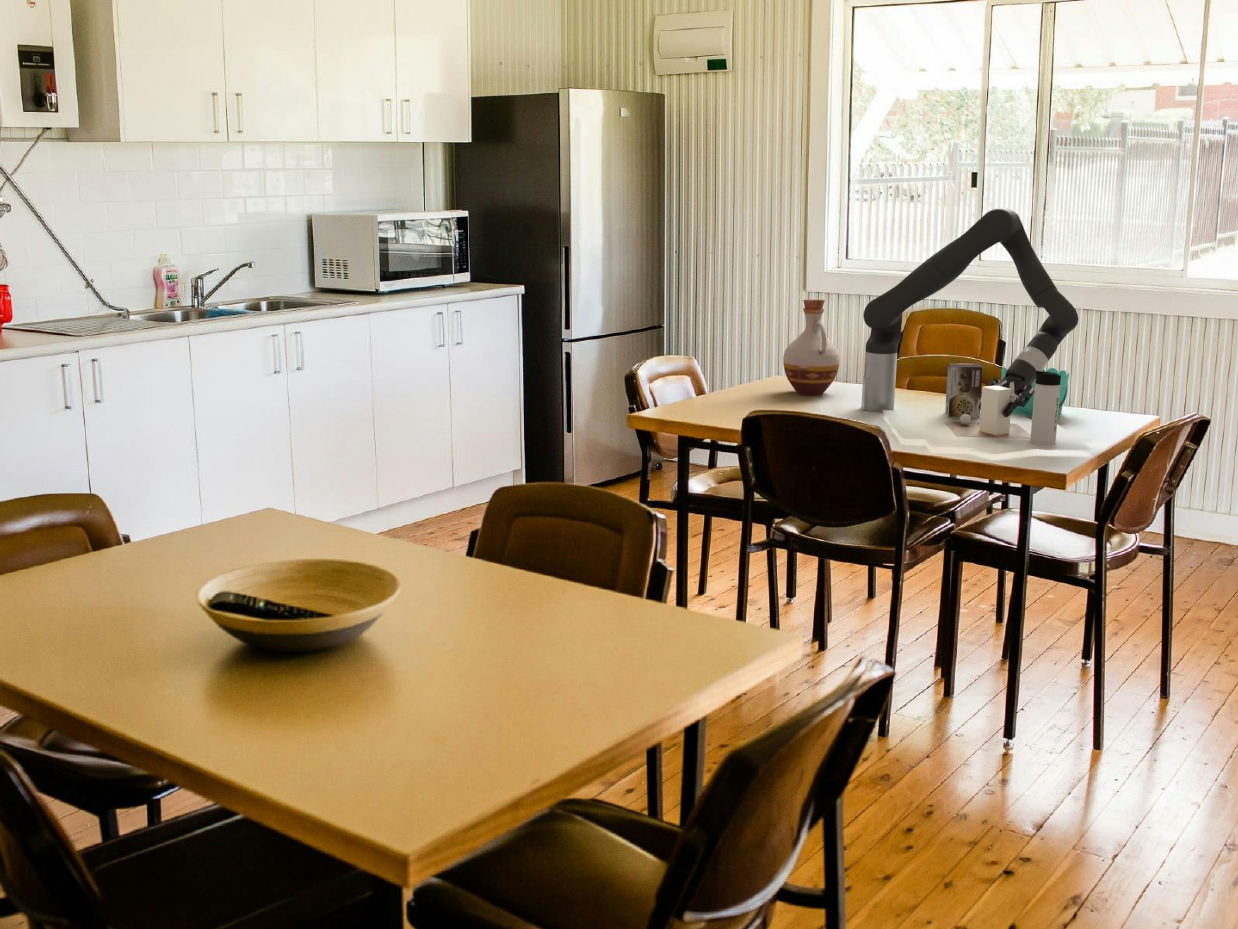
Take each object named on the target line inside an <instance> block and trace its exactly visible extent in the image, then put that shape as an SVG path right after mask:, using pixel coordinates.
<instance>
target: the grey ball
mask: <svg viewBox="0 0 1238 929" xmlns="http://www.w3.org/2000/svg"><path fill="white" fill-rule="evenodd" d="M959 422H960V423H961V424H963V425H968V424H969V423H970V422H972V418H971V417H970V416H969V415H967V414H964V415H962V416H961V417H959Z"/></svg>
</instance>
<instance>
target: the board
mask: <svg viewBox="0 0 1238 929" xmlns="http://www.w3.org/2000/svg"><path fill="white" fill-rule="evenodd" d="M943 422H944V424H945V425H946V426H947V427H948V428H949V429H950V430H951V431H952V432H953V434H954V435H955V436H956V437H958V438H959V437H961V438H962V437H964V438H967V437H968V438H997V439H998V438H999V439H1001V438H1003V439H1030V438H1031V433H1029V432H1028V431H1027V430H1025V428H1023V427H1022V426H1021V425H1020V424H1019V423H1011V422H1010V429H1009V433H1008V434H999V435H993V434H989V433H985V432H981V431H979V425H980V422H972V421H971V422H970V423H969V424H968V425H963V424H961V423H960V421H958V422H957V421H943Z"/></svg>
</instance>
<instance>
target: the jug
mask: <svg viewBox="0 0 1238 929" xmlns="http://www.w3.org/2000/svg"><path fill="white" fill-rule="evenodd" d="M825 301H826V300H825V299H815V298H814V299H803V300H802V302H803V304H804V305H803V306H804V308H802V309H803V313H804V318H805V328H804V330H803V331H802V332H801V333H800V334H799V335H798V336H797V337H796V338H795V339H794V340H793V341H792V342H790V343H789V344H788V346H787V347H786V348H785V349H784V353H783V356H782V362H783V363H782V364H783V369H784V373H785V376H786V379H787V380H788V382H789V383H790V385H791V386H792V388H793V389H794V391H795V392H796V393H797V394H798V395H801V396H821V395H823V394H824V393H825V392H826V391H827V389H829V388H830V386H831V385H832V383H833V382H834V381H835V378H836V376H837V374H838V372H839V368H840V363H841V356H840V352H839V350H838V347H836V345H835V344H834V343H833V342H832V341H831V340H830V339H829V338H828V337H827V332H826V329H825V328H826V327H825V326H824V323H823V322H822V317H823V314H824V312H825V308H824V304H825Z"/></svg>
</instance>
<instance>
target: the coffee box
mask: <svg viewBox="0 0 1238 929" xmlns="http://www.w3.org/2000/svg"><path fill="white" fill-rule="evenodd" d="M983 370H984V367H983V366H982V365H981V363H973V362H972V363H969V362H968V363H965V362H962V363H959V362H958V363H957V362H954V363H953V362H952V363H951V362H949V363H947V377H946V391H945V393H946V395H945V408H944V414H945V415H946V416H947V417H948V418H960V417H961V416H962V415H964V414H967V415H969V416H970V417H971V419H973V418H976V419H978V418H979V419H980V412H981V411H980V409H979V404H980V403H981V398H982V393H981V392H982V387H983V375H984V374H983V372H984V371H983Z"/></svg>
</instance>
